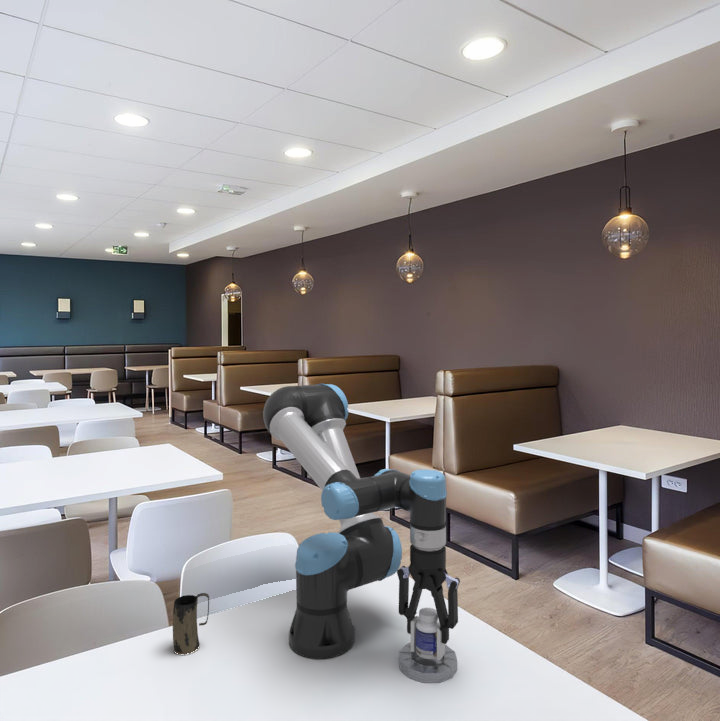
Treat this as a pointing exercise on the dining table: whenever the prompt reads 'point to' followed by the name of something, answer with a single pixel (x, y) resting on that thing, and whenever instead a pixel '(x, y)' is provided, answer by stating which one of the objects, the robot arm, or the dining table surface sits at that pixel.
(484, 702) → the dining table surface
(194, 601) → the mug
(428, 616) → the pill bottle
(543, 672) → the dining table surface
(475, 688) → the dining table surface
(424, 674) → the hub
